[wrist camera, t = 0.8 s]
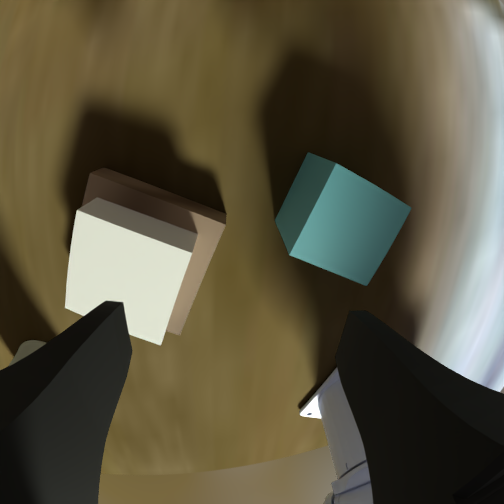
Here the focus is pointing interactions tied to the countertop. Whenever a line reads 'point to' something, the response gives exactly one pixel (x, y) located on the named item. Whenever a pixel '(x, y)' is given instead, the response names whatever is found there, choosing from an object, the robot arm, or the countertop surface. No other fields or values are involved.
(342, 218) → the teal block
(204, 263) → the walnut slab
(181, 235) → the white block
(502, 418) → the robot arm
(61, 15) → the countertop surface
